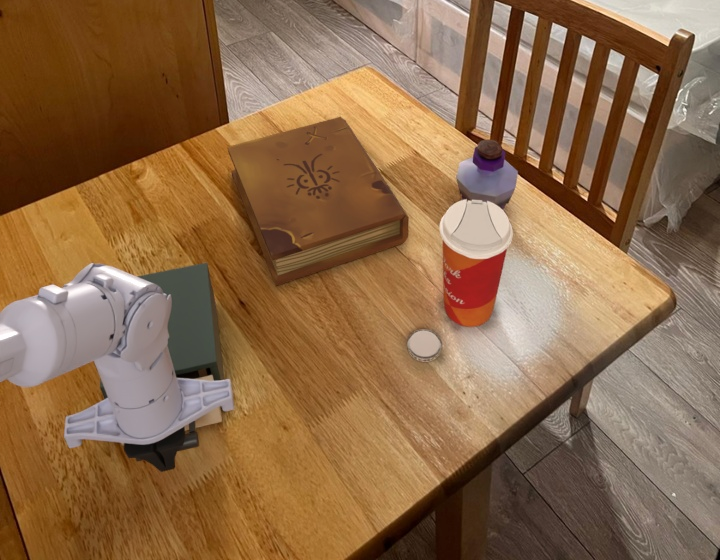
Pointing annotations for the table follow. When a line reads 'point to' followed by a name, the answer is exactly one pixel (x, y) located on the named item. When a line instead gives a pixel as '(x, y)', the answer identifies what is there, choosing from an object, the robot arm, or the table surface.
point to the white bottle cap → (424, 345)
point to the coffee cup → (473, 259)
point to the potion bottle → (487, 175)
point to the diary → (315, 199)
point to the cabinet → (190, 320)
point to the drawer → (207, 419)
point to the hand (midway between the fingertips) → (167, 460)
